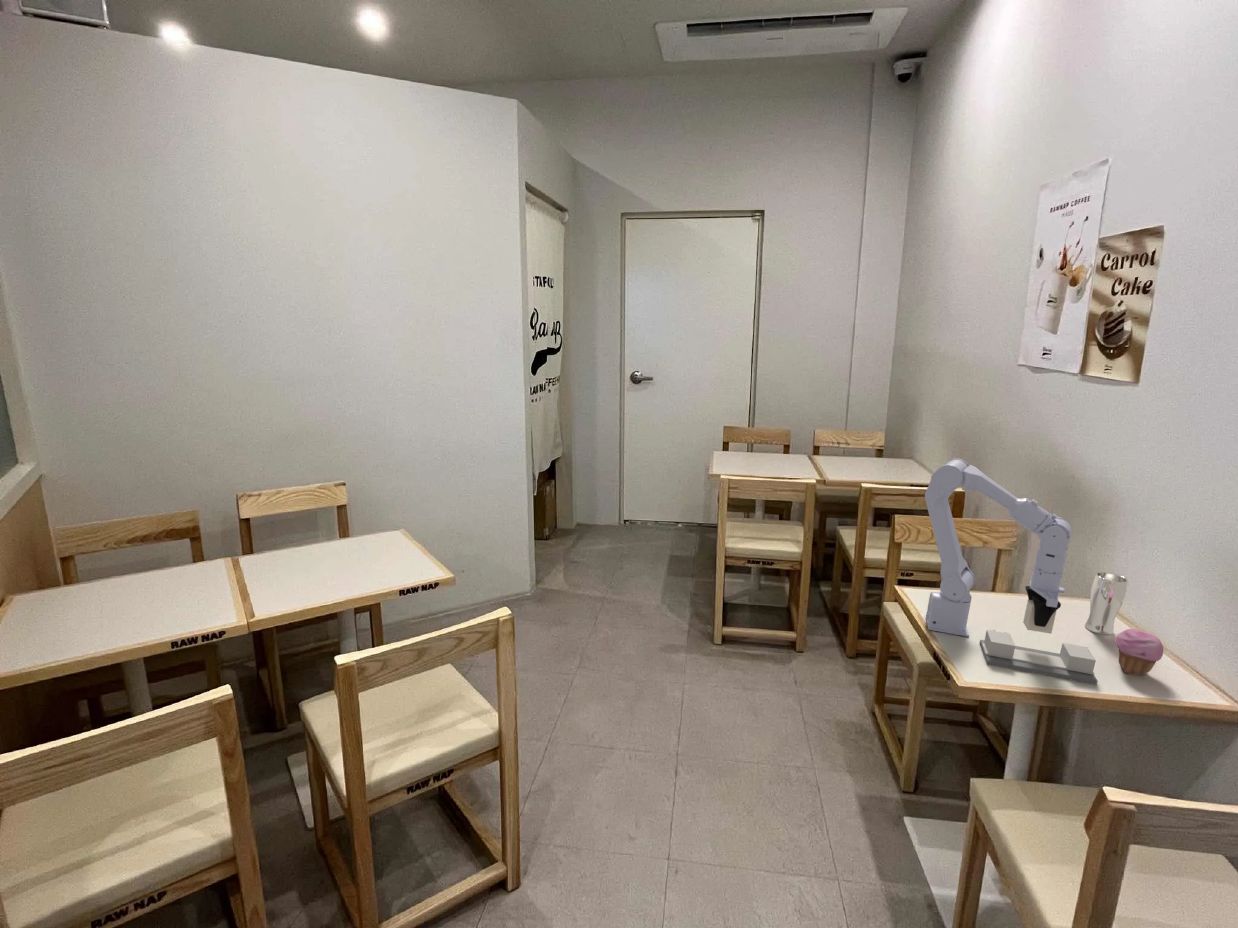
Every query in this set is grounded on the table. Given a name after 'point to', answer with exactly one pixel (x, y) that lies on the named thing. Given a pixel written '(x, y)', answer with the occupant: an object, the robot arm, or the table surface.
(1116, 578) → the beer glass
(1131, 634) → the cupcake
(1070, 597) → the table surface
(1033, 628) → the block
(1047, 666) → the rail board
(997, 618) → the table surface
